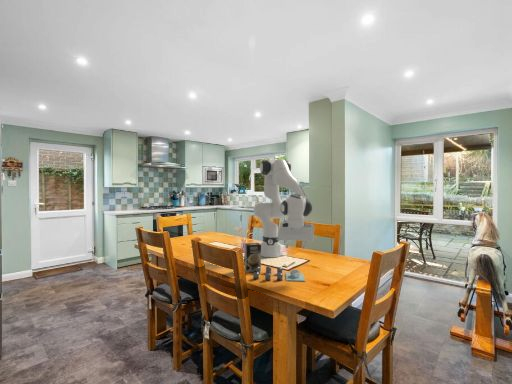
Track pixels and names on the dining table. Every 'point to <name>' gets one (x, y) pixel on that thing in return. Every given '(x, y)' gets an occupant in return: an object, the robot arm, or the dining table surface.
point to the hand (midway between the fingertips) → (295, 248)
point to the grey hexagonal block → (294, 273)
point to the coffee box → (252, 256)
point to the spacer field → (268, 273)
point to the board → (295, 278)
